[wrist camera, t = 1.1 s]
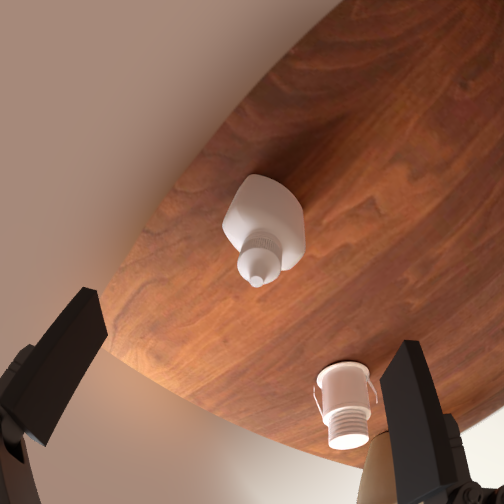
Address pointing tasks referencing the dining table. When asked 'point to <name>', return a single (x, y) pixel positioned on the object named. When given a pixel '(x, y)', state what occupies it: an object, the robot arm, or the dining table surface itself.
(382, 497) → the plant pot
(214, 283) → the dining table surface
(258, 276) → the eye dropper bottle
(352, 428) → the downlight
